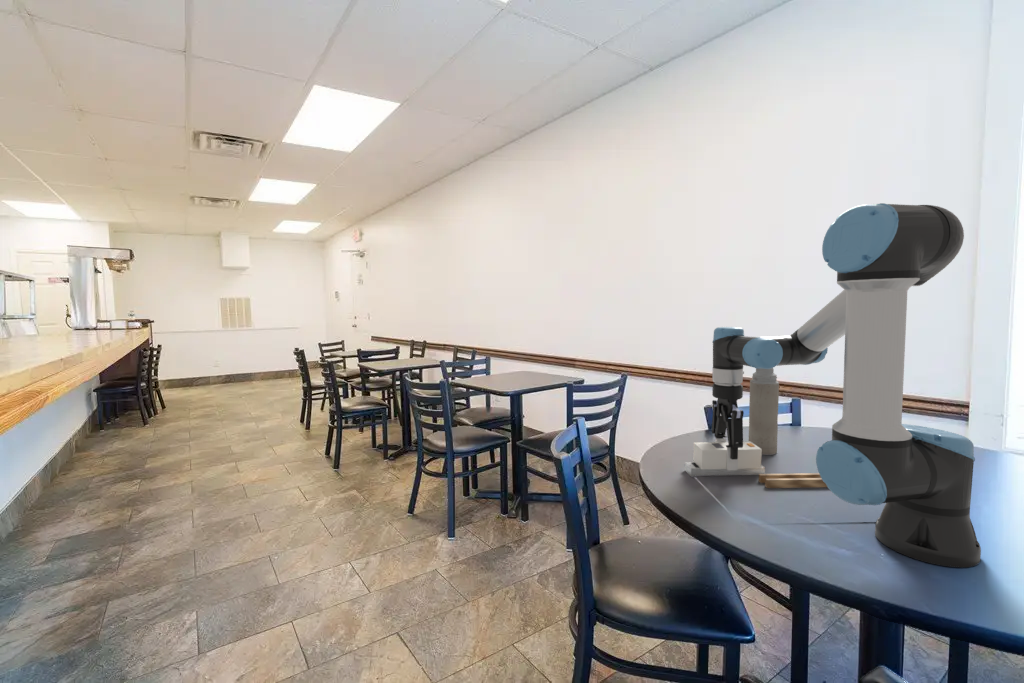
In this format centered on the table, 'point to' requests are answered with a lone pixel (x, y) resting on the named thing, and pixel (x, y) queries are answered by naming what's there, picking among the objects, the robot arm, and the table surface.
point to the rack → (792, 480)
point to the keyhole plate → (720, 471)
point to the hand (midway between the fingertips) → (726, 465)
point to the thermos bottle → (764, 410)
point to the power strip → (725, 455)
